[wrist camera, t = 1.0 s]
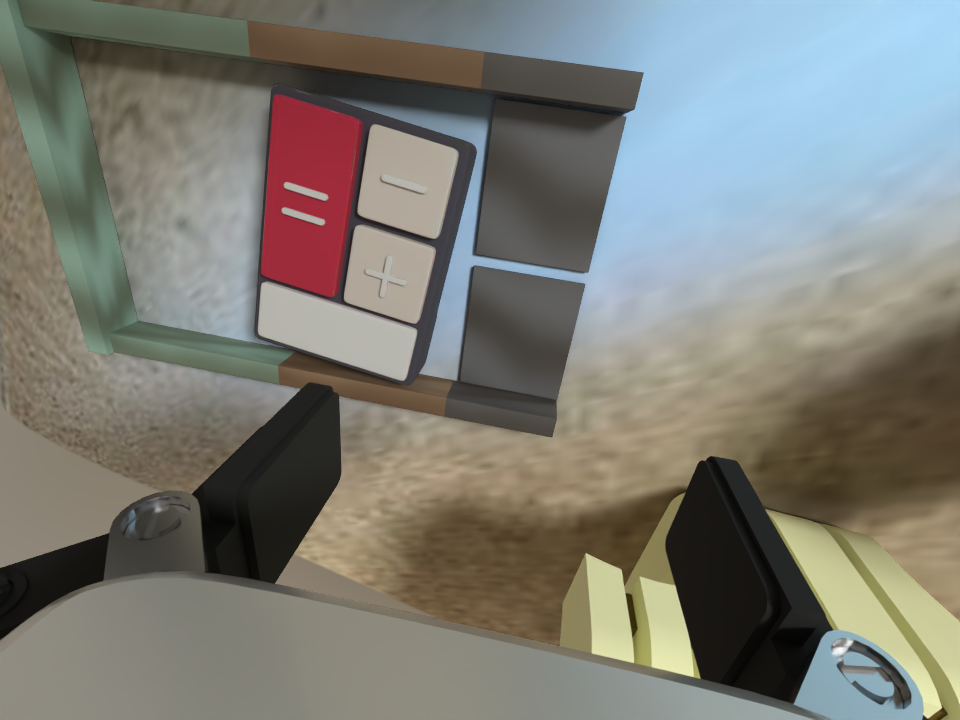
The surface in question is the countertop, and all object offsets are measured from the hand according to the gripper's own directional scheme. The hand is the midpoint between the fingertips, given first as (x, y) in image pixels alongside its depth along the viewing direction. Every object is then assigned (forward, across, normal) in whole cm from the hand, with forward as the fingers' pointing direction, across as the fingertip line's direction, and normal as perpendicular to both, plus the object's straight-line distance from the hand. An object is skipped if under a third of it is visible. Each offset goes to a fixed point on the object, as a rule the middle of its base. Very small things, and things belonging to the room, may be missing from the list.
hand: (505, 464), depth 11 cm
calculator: (+19, +11, 0) cm, 22 cm away
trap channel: (+18, +14, -1) cm, 23 cm away
